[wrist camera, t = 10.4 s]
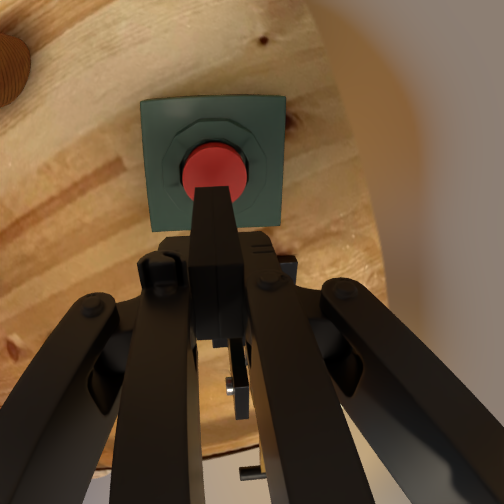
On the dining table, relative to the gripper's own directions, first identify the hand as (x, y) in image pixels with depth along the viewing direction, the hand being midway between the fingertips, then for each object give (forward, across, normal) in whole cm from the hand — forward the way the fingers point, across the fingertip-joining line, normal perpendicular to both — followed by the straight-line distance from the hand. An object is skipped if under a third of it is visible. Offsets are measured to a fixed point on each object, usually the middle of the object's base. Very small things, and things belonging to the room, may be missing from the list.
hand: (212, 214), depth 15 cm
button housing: (+11, 0, 0) cm, 11 cm away
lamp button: (+7, 0, 0) cm, 7 cm away
